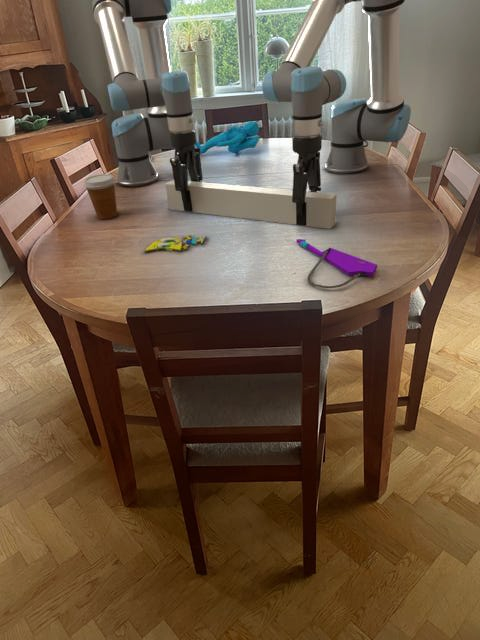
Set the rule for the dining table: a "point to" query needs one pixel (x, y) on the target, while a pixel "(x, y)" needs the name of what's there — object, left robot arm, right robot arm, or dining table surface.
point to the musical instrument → (340, 263)
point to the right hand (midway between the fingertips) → (307, 219)
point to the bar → (254, 203)
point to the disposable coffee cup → (102, 195)
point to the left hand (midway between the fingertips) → (192, 207)
